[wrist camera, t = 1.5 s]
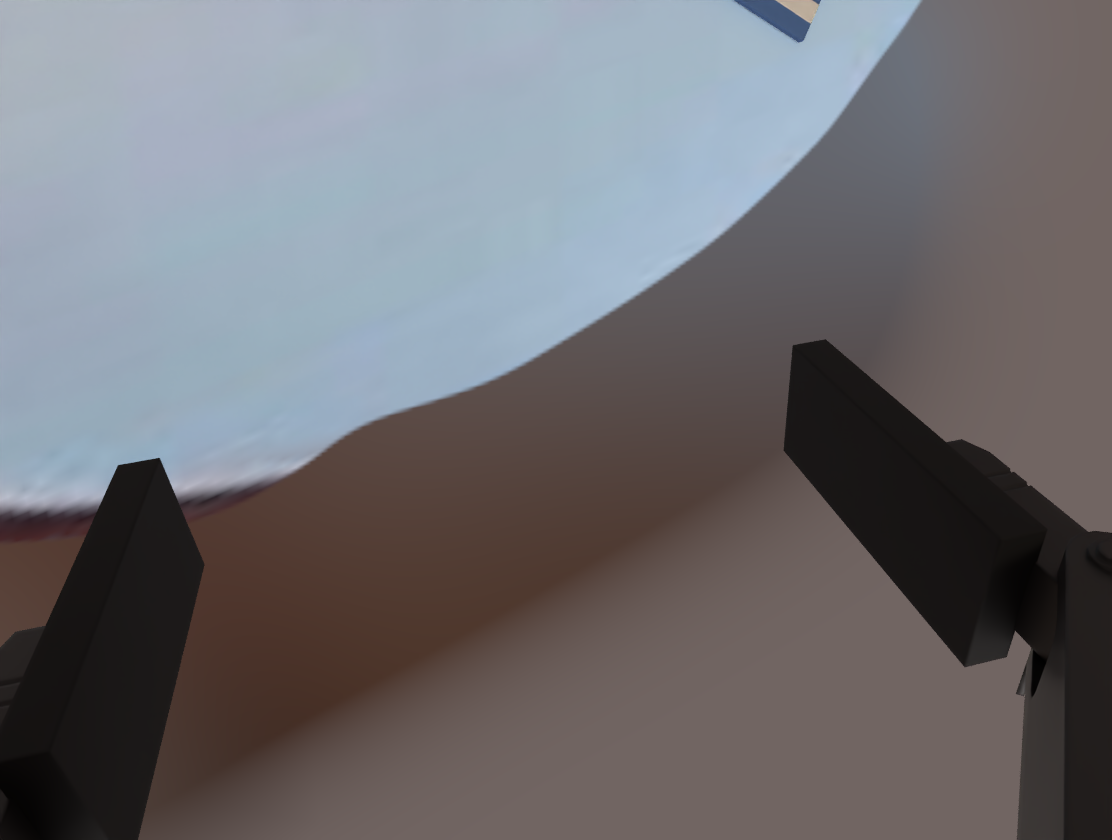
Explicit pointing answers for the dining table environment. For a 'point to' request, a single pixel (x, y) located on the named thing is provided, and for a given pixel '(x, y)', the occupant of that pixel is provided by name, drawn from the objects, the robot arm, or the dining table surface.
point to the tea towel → (785, 14)
